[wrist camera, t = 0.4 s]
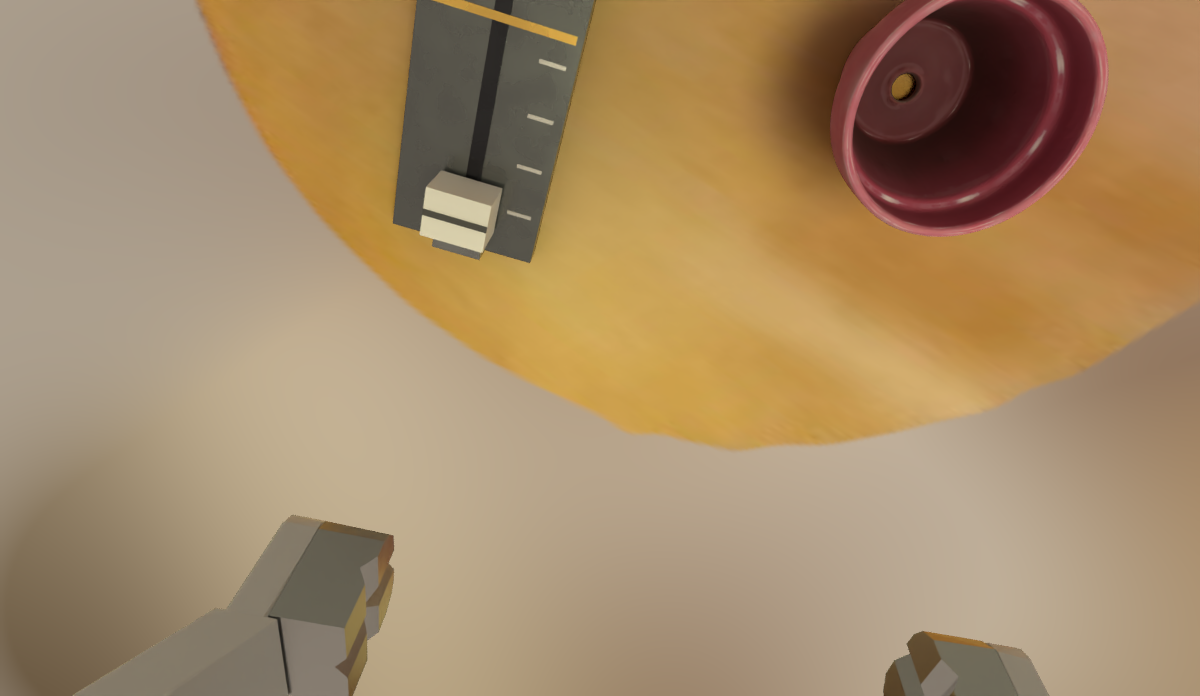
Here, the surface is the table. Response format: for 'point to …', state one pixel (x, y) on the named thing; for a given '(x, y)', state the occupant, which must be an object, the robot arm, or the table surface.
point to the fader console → (490, 107)
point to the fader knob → (460, 211)
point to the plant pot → (967, 110)
